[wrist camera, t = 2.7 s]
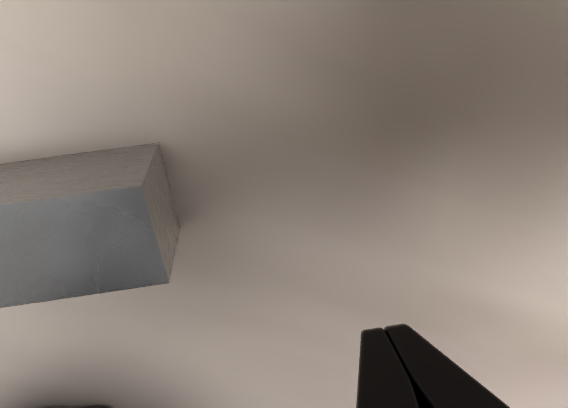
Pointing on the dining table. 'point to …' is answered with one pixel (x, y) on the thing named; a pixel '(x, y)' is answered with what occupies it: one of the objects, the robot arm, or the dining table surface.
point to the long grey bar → (85, 224)
